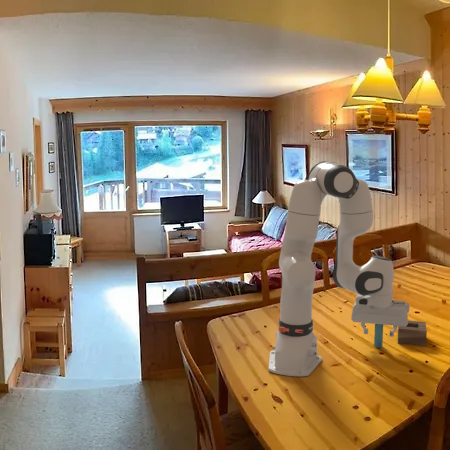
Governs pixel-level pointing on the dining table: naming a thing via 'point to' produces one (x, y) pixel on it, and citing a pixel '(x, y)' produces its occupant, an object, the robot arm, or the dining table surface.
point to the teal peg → (378, 336)
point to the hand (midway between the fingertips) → (378, 334)
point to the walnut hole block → (413, 333)
